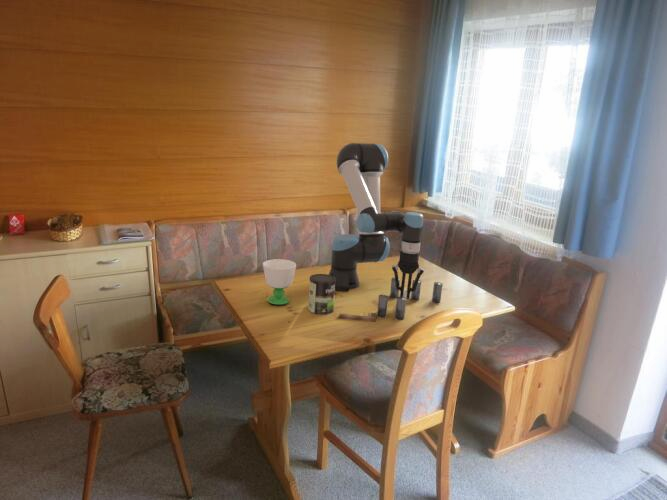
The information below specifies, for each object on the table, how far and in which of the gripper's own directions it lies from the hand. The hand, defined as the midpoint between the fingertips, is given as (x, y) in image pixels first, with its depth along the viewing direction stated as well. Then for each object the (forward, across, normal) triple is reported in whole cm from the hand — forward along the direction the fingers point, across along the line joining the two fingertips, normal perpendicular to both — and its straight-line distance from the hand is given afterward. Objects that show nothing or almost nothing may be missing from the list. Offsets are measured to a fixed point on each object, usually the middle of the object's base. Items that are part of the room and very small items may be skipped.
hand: (403, 305), depth 200 cm
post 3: (+1, -2, -12) cm, 12 cm away
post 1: (+1, -8, -12) cm, 15 cm away
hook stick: (+1, -17, -18) cm, 25 cm away
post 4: (+1, +5, +11) cm, 12 cm away
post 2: (+1, -4, +11) cm, 12 cm away
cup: (+2, -51, -7) cm, 52 cm away
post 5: (+1, +14, +10) cm, 17 cm away
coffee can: (+2, -32, -13) cm, 35 cm away
